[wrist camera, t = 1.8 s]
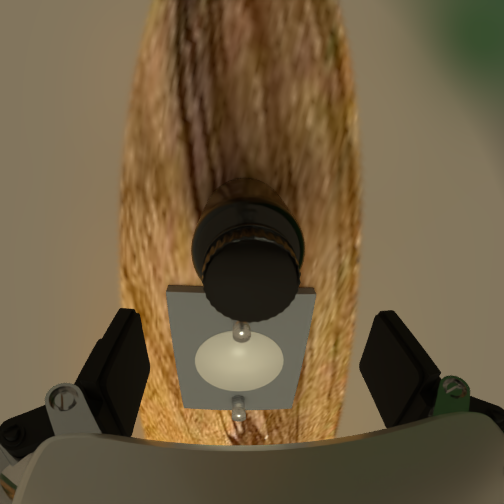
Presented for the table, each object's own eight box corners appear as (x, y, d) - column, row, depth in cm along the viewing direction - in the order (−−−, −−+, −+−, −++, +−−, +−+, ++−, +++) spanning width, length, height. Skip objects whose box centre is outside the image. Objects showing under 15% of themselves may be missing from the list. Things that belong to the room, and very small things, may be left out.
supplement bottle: (299, 220, 25) (347, 290, 14) (239, 266, 27) (243, 359, 16) (249, 158, 23) (263, 182, 12) (187, 211, 24) (151, 278, 13)
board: (168, 285, 27) (159, 309, 23) (313, 287, 28) (324, 312, 24) (185, 401, 34) (181, 425, 30) (290, 401, 35) (294, 426, 31)
